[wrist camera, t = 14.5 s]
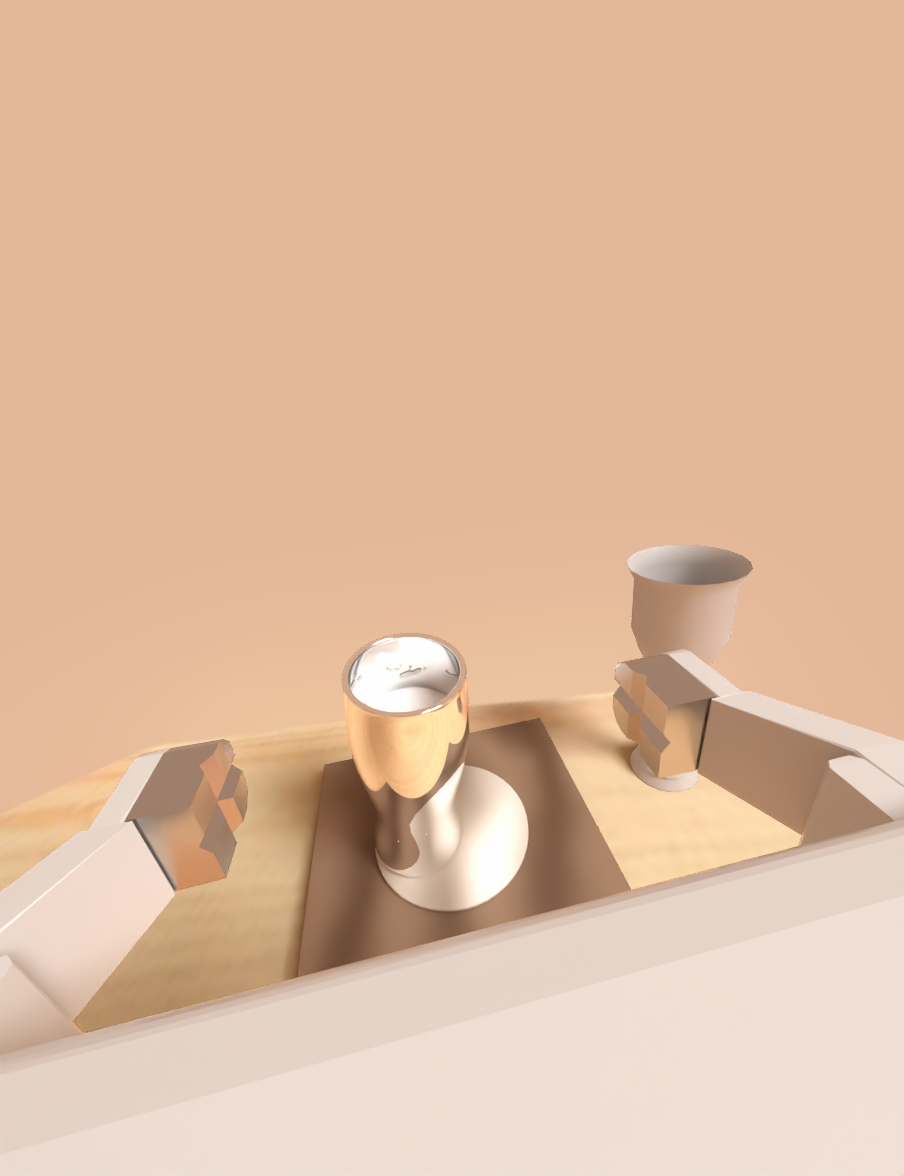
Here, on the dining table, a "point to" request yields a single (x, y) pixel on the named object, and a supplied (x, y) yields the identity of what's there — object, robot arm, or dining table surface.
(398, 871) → the beer glass
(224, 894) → the dining table surface
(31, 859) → the dining table surface
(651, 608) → the chalice
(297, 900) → the dining table surface
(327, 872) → the walnut board
